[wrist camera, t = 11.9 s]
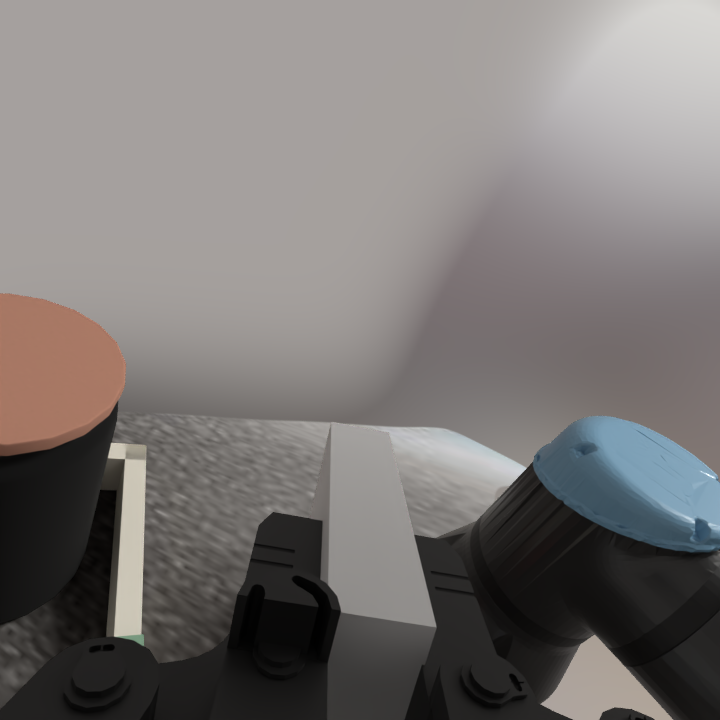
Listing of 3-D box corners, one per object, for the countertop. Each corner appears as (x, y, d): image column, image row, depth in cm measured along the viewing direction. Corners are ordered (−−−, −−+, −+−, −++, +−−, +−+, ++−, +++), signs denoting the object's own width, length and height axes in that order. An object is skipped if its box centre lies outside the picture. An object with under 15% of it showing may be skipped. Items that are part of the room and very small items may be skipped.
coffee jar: (-62, 478, 38) (-69, 269, 28) (100, 500, 41) (143, 323, 32) (-152, 632, 29) (-209, 415, 20) (59, 642, 33) (101, 464, 23)
